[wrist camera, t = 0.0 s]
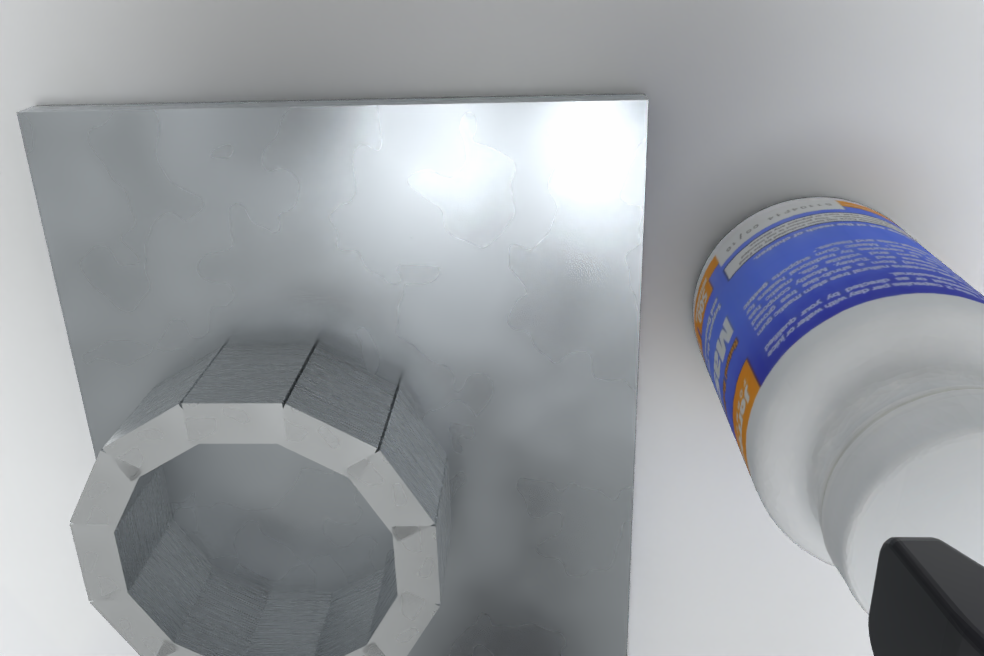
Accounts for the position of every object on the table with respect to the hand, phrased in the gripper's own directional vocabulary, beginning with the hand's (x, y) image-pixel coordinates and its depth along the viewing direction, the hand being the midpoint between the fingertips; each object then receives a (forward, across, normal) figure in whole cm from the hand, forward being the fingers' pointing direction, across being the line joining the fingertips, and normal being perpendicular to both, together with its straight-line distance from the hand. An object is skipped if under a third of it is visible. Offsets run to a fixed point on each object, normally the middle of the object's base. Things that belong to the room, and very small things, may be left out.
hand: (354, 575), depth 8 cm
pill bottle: (+15, -8, +3) cm, 17 cm away
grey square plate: (+15, +3, +7) cm, 17 cm away
